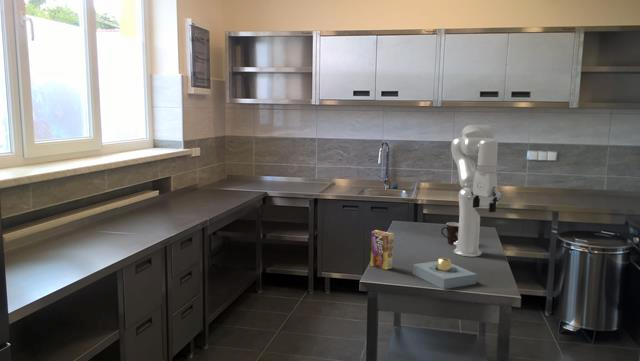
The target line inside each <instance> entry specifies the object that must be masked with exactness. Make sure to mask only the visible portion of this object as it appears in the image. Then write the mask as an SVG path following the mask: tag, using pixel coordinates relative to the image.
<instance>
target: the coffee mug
mask: <svg viewBox="0 0 640 361" xmlns="http://www.w3.org/2000/svg"><path fill="white" fill-rule="evenodd" d="M444 229H446V233H447V234H446V235H445V234H444V233H443V231H444ZM458 231H459V222H455V221H454V222H453V221H452V222H446V226H445V227H444V226H443V227H442V228H441V230H440V232H441V234H442V236H443V237H444V238H447V244H448V245H451V246H455V245H454V242H456V241H458Z"/></svg>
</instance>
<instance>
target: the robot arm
mask: <svg viewBox="0 0 640 361" xmlns="http://www.w3.org/2000/svg"><path fill="white" fill-rule="evenodd" d="M498 146H499V142H498V141H497V140H496V139H495V131H494V128H493V127H492V126H491V125H488V124H469V125H467V126H464V128H463V129H462V130H461V136H460V137H459V136H458V137H456V138H453V140H452V141H451V145H450V148H451V149H450V151H451V156H452V158H453V161H454V163H455V164H456V166H457V167H456V169H457V173H458V181H459V185H460V187H461V189H460V190H459V192H458V205H459V215H458V216H459V218H458V219H459V220H458V223H459V231H458V241H456V242H454V245H453V246H456V248H454V249H453V253H454V254H456V255H458V256H463V257H470V258H471V257H472V258H473V257H479V256H482V251H481V250H479V243H480V227H481V226H480V225H481V216H480V214H479V213H478V212H477V211H476V209H488V212H489V213H495V212H496V210H497V206H498V202H499V200H500V198H501V196H502V193H501V192H500V190H498V176H497V165H498V164H497V163H498V162H497V161H498V150H499V149H498V148H499V147H498ZM471 156H478V157H477V165H476V163H475V162H474V160H473V159H472V158H471Z"/></svg>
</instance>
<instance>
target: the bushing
mask: <svg viewBox="0 0 640 361" xmlns="http://www.w3.org/2000/svg"><path fill="white" fill-rule="evenodd" d="M437 261H438V271H442V272H450V269H451V263H452V259H450V258H448V257H439V258H438V259H437Z"/></svg>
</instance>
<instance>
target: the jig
mask: <svg viewBox="0 0 640 361" xmlns="http://www.w3.org/2000/svg"><path fill="white" fill-rule="evenodd" d="M477 274H478V273H475V272H472V270H471V271H470V270H469V269H465V268H464V267H462V266H459V265H456V264H454V263H452V262H451V269H450V272H442V271H438V260H436V261H428V262H421V263H413V264H412V275H414V276H416V277H419V278H421V279H422V280H424V281H427V282H428V283H430V284H432V285H434V286H436V287H438V288H440V289H443V290H446V289H453V288H458V287H466V286H471V285H476V284H477V278H478V276H477Z"/></svg>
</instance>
